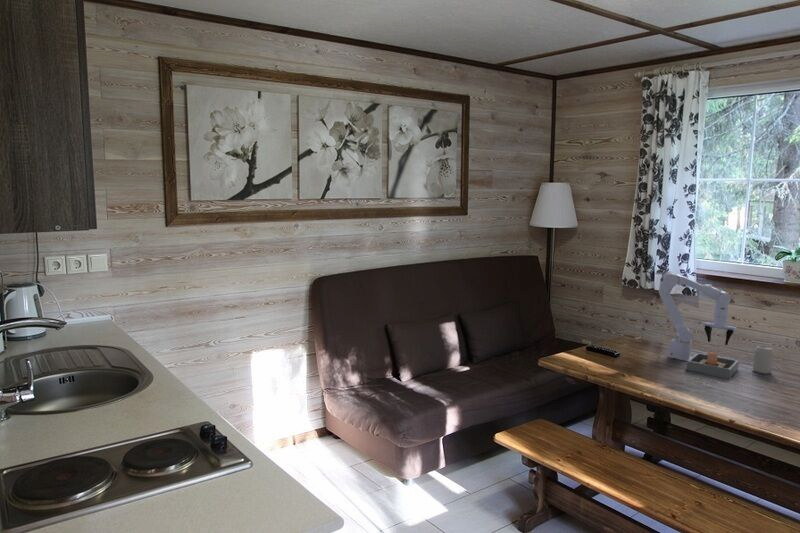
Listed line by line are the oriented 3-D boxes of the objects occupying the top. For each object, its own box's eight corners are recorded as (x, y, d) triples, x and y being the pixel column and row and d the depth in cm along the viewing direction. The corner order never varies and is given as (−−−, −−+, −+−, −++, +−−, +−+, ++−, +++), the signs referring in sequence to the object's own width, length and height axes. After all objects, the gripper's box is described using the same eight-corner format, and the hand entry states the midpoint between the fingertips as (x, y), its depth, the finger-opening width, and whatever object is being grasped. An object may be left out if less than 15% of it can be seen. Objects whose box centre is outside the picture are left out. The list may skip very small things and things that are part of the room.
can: (766, 369, 281) (768, 345, 279) (774, 374, 274) (777, 349, 272) (749, 368, 282) (752, 344, 280) (757, 374, 275) (760, 348, 273)
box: (686, 370, 278) (687, 360, 277) (696, 361, 291) (697, 352, 291) (729, 379, 266) (730, 369, 266) (737, 369, 280) (738, 360, 279)
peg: (705, 370, 277) (707, 353, 276) (707, 368, 280) (709, 351, 279) (714, 371, 274) (716, 355, 273) (716, 369, 278) (718, 353, 276)
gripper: (702, 314, 290) (699, 341, 292) (735, 320, 281) (732, 347, 283) (705, 312, 296) (703, 339, 298) (738, 317, 286) (735, 344, 288)
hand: (717, 343), depth 291 cm, fingers open, 7 cm apart
